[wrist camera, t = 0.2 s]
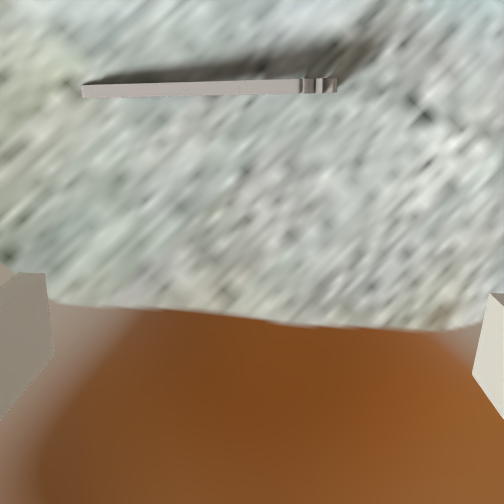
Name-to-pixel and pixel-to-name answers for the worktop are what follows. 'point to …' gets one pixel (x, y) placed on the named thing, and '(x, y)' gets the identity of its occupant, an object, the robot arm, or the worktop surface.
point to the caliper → (212, 88)
